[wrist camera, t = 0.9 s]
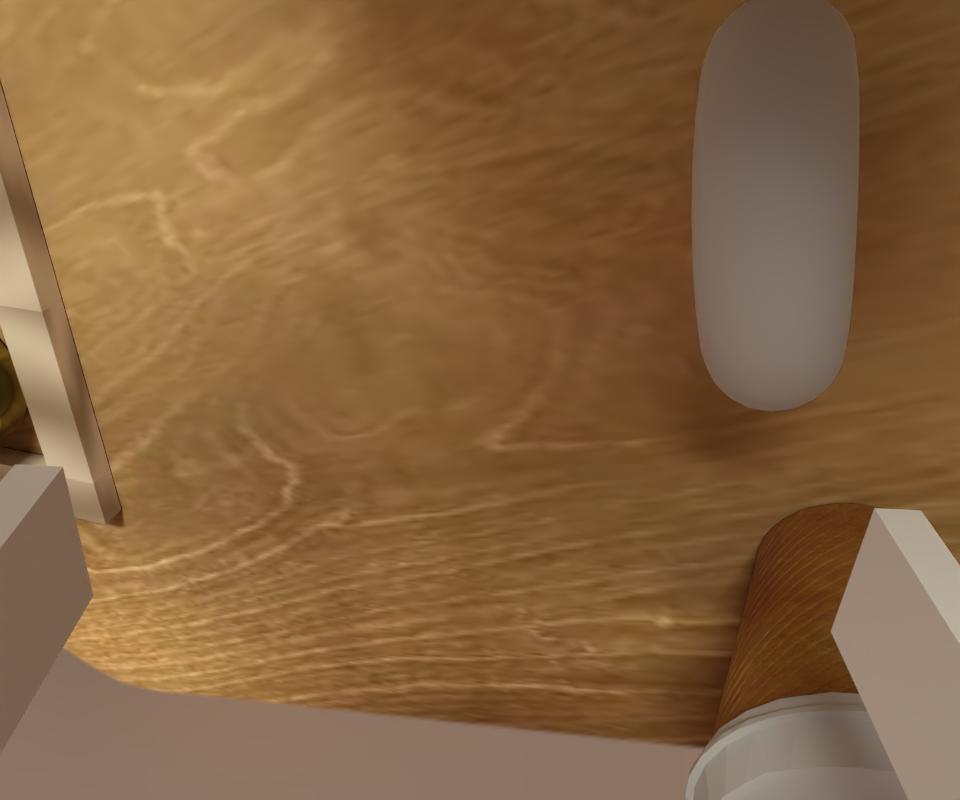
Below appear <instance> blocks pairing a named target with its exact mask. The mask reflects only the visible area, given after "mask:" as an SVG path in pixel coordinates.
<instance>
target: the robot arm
mask: <svg viewBox="0 0 960 800" xmlns="http://www.w3.org/2000/svg"><path fill="white" fill-rule="evenodd" d="M92 597H93V592H92V587H91V583H90V579H89V575H88V571H87V566H86V562H85V558H84V554H83V549H82V545H81V541H80V537H79V532H78V528H77V524H76V520H75V516H74V511H73V507H72V503H71V499H70V494H69V490H68V486H67V482H66V478H65V473H64V469H63V467H57V466H37V465H18V464H15V465H14V466H13V467H12V469H11V470H10V471H9V472H8V473H7V474H6V475H5V477H4V478H3V479H2V480H1V481H0V754H1V753H2V751H3V749H4V747H5V746H6V744H7V742H8V741H9V739H10V737H11V735H12V734H13V732H14V730H15V729H16V727H17V725H18V723H19V722H20V720H21V718H22V716H23V715H24V713H25V711H26V710H27V708H28V706H29V705H30V703H31V701H32V699H33V698H34V696H35V694H36V692H37V691H38V689H39V687H40V686H41V684H42V682H43V680H44V679H45V677H46V675H47V674H48V672H49V670H50V669H51V667H52V665H53V663H54V662H55V660H56V658H57V657H58V655H59V653H60V651H61V650H62V648H63V646H64V645H65V643H66V641H67V639H68V638H69V636H70V634H71V633H72V631H73V629H74V627H75V626H76V624H77V622H78V621H79V619H80V617H81V615H82V614H83V612H84V610H85V609H86V607H87V605H88V603H89V602H90V600H91V598H92ZM831 633H832V635H833V638H834V640H835V642H836V644H837V646H838V648H839V651H840V653H841V655H842V657H843V659H844V662H845V664H846V666H847V668H848V670H849V672H850V675H851V677H852V679H853V681H854V683H855V685H856V688H857V690H858V692H859V694H860V696H861V698H862V701H863V703H864V705H865V707H866V709H867V711H868V714H869V716H870V718H871V720H872V722H873V725H874V727H875V729H876V731H877V733H878V735H879V738H880V740H881V742H882V744H883V746H884V748H885V751H886V753H887V755H888V757H889V759H890V761H891V764H892V766H893V768H894V770H895V772H896V775H897V777H898V779H899V781H900V783H901V785H902V788H903V790H904V792H905V794H906V796H907V798H908V800H960V565H959V564H958V562H957V561H956V559H955V558H954V557H953V555H952V554H951V552H950V551H949V549H948V548H947V547H946V545H945V544H944V542H943V541H942V540H941V538H940V537H939V535H938V534H937V532H936V531H935V530H934V528H933V527H932V525H931V524H930V522H929V521H928V520H927V518H926V517H925V515H924V514H923V512H922V511H921V510H901V509H881V508H874V511H873V513H872V516H871V519H870V522H869V525H868V528H867V530H866V533H865V536H864V539H863V542H862V544H861V547H860V550H859V553H858V556H857V559H856V561H855V564H854V567H853V570H852V573H851V576H850V578H849V581H848V584H847V587H846V590H845V593H844V595H843V598H842V601H841V604H840V607H839V609H838V612H837V615H836V618H835V621H834V624H833V626H832V629H831Z"/></svg>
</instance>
